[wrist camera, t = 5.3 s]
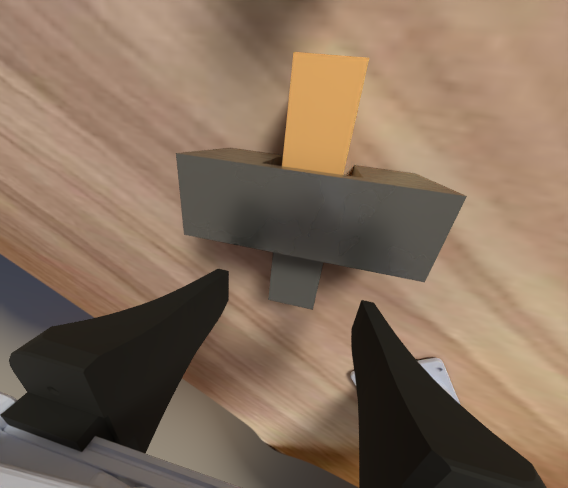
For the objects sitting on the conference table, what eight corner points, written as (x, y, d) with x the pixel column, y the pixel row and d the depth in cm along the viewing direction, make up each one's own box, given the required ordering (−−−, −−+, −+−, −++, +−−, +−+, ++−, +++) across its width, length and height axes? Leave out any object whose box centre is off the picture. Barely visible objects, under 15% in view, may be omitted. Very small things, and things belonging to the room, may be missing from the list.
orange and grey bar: (316, 275, 18) (312, 309, 14) (280, 268, 18) (268, 299, 15) (359, 80, 12) (369, 57, 9) (304, 76, 13) (293, 51, 9)
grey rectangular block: (394, 233, 15) (424, 282, 10) (229, 204, 17) (184, 234, 12) (416, 173, 13) (466, 196, 8) (229, 147, 15) (175, 153, 10)
